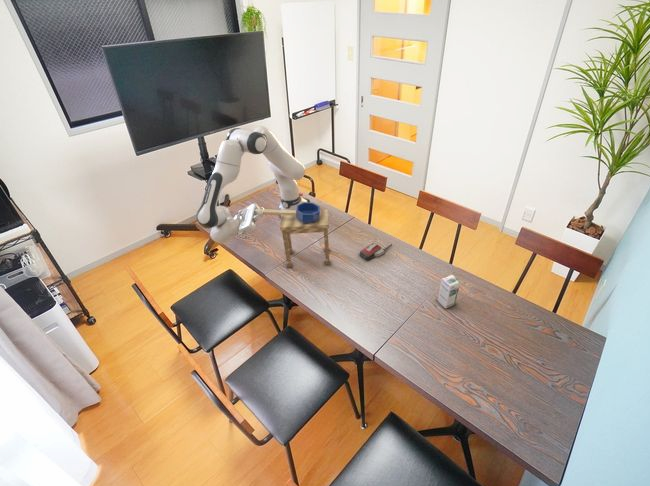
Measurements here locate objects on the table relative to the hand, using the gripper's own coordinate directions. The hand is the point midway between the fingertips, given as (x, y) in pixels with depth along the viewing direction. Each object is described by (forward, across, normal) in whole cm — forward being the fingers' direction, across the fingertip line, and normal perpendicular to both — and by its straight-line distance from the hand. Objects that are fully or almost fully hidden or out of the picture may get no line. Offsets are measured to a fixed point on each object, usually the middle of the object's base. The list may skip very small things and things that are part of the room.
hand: (263, 210), depth 157 cm
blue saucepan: (+8, 0, +9) cm, 12 cm away
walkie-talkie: (+33, +2, +55) cm, 64 cm away
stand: (+1, 0, +37) cm, 37 cm away
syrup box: (+56, -38, +68) cm, 96 cm away
